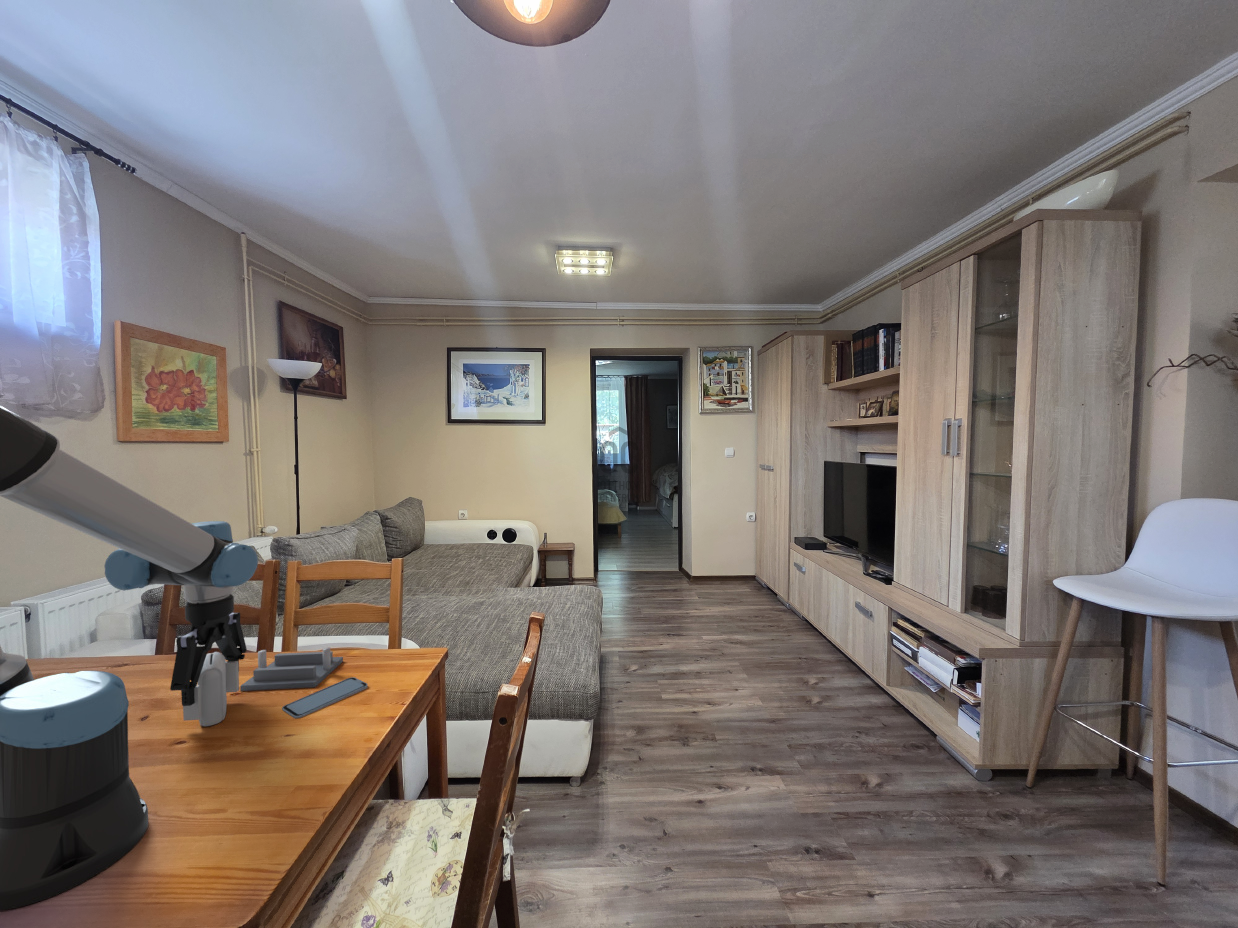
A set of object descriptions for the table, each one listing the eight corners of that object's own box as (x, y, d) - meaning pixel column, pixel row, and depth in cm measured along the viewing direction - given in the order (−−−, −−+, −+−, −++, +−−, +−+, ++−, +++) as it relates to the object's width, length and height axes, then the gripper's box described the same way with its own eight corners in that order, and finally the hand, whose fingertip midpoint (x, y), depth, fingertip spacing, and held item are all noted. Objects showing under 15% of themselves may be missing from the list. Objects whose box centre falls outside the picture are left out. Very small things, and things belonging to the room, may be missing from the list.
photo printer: (200, 707, 98) (199, 650, 98) (227, 700, 101) (225, 644, 101) (197, 730, 90) (195, 668, 90) (226, 722, 93) (224, 661, 93)
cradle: (315, 686, 107) (315, 660, 106) (240, 690, 105) (239, 663, 105) (343, 661, 120) (342, 637, 119) (276, 664, 118) (275, 640, 118)
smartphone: (280, 707, 98) (352, 676, 111) (280, 711, 98) (352, 680, 111) (296, 717, 94) (369, 684, 107) (296, 722, 94) (369, 688, 107)
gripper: (184, 616, 84) (188, 736, 85) (265, 581, 106) (267, 676, 107) (139, 617, 83) (143, 739, 84) (229, 582, 105) (232, 678, 106)
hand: (212, 704), depth 96 cm, fingers closed on photo printer, 10 cm apart
